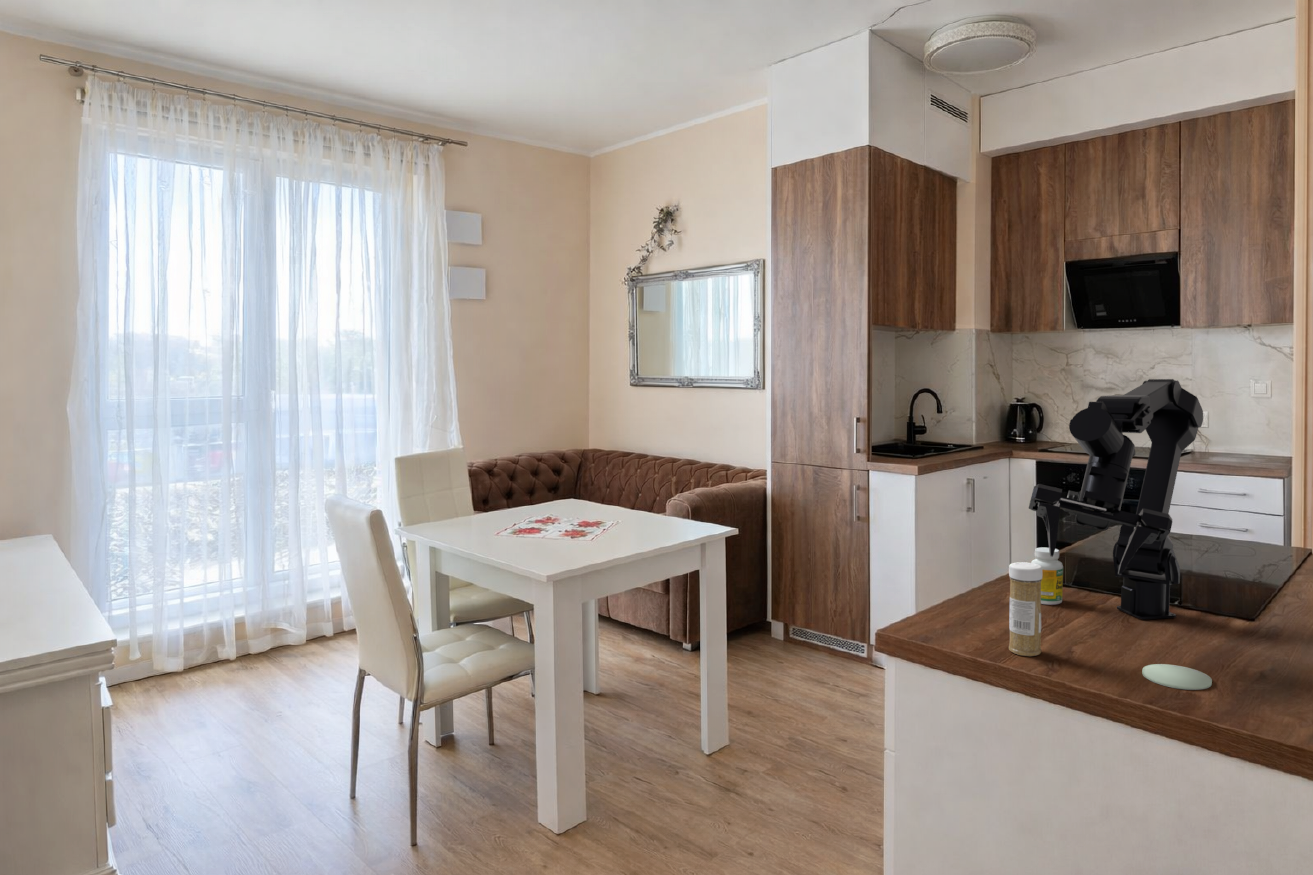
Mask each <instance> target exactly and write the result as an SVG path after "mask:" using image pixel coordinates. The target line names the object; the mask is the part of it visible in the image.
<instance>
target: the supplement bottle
mask: <svg viewBox="0 0 1313 875" xmlns="http://www.w3.org/2000/svg"><path fill="white" fill-rule="evenodd" d="M1034 549H1035V550H1034V557H1035V558H1034V559H1032V560H1031V562H1030V563H1034V564H1038V565H1040V566H1041V567H1042V579H1041V580H1042V581H1041V605H1047V606H1048V605H1051V606H1053V605H1054V606H1055V605H1059V604H1062V602H1063V595H1064V594H1063V593H1064V592H1063V590H1064V588H1063V582H1064V566H1063V562H1061V561H1060V560H1058V559H1059V558H1060V549H1058V548H1055V551H1054V555H1053V557H1051V556H1050V552H1049V547H1042V546H1041V547H1036V548H1034Z"/></svg>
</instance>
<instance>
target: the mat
mask: <svg viewBox="0 0 1313 875" xmlns="http://www.w3.org/2000/svg"><path fill="white" fill-rule="evenodd" d="M1141 673H1142V676H1143V677H1144V678H1145V679H1147V680H1149V681H1150V682H1152V683H1154V684H1158V685H1160V686H1164V687H1167V688H1168V687H1169V688H1172V689H1178V690H1186V691H1187V690H1188V691H1200V690H1206V689H1209V688H1210V687H1211V686H1213V685H1212V684H1213V683H1212V682H1213V679H1212V677H1211V676H1209V675H1208V674H1206V673H1205V672H1203V671H1200V670H1197V669H1194V668H1190V667H1187V666H1181V665H1175V664H1168V663H1157V664H1156V663H1155V664H1148V665H1145V666H1143V668H1142V672H1141Z"/></svg>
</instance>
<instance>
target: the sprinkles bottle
mask: <svg viewBox="0 0 1313 875" xmlns="http://www.w3.org/2000/svg"><path fill="white" fill-rule="evenodd" d="M1008 576H1009V582H1010V583H1009V617H1008V618H1009V620H1008V621H1009V623H1008V624H1009V644H1008V650H1009V651H1010V652H1012V653H1013V654H1015V655H1017V656H1023V657H1036V656H1039V655H1041V653H1042V649H1041V639H1042V637H1041V635H1042V610H1041V609H1042V608H1041V606H1042V604H1041V581H1042V580H1041V579H1042V567H1041V566H1040V565H1038V564H1034V563H1031V562H1026V561H1025V562H1024V561H1023V562H1022V561H1019V562H1011V563H1010V564H1009V567H1008Z"/></svg>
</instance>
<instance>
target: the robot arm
mask: <svg viewBox="0 0 1313 875" xmlns="http://www.w3.org/2000/svg"><path fill="white" fill-rule="evenodd" d="M1087 405H1088V406H1087V407H1086V408H1083V409H1081V410H1080V411H1078V412H1077V413H1076V414H1075V415H1073V417H1072V418H1071V419H1070V421H1069V425H1068V429H1069V433H1070V434H1071V435H1072V437H1073V438H1074V439H1075V440H1076V442H1077V443H1078V445H1079V446H1080V447H1081V449H1082V450H1083V451H1084V452H1085V453H1086V454H1088V455H1089V457H1088V461H1087V464H1086V468H1085V473H1084V478H1083V481H1082V486H1081V490H1080V491H1074V490H1068V493H1067V496H1062V493H1063V488H1058V487H1055V486H1050V485H1045V484H1042V483H1038V484H1036V485H1034V486H1033V490H1032V494H1031V496H1030V501H1029V506H1028V509H1029V510H1031V511H1033V512H1036V513H1035V514H1036V515H1035V516H1037V517H1039V518H1042V520H1043V522H1044V525H1045V527H1046V528H1045V529H1046V531H1047V541H1048V548H1049V552H1050V556H1051V557H1053V555H1054V551H1055V549H1056V546H1057V540H1058V532H1059V523H1060V521H1059V520H1060V513H1061V510H1063V511H1064V512H1065V513H1068V514H1069V515H1072V516H1075V518H1074V522H1075V524H1077V525H1078V526H1082V527H1084V526H1086V527H1090V528H1094V529H1096V530H1098V531H1108V529H1109V528H1110V524H1111V522H1112V523H1117V524H1121V526H1120V530H1119V535H1118V539H1117V541H1116V542H1115V544H1114V546H1113V549H1112V560H1113V566H1114V567H1113V568H1114V575H1115V577H1118V578H1123V584H1122V586H1121V588H1120V605H1117V606H1116V609H1117V610H1118V611H1121V612H1124V613H1125V614H1128V615H1129V616H1131V617H1132V616H1133V617H1134V618H1137V619H1139V620H1154V619H1155V620H1157V619H1174V618H1175V619H1176V618H1177V614H1176V613H1173V612H1171V611H1170V599H1171V598H1170V592H1171V590H1170V589H1171V585H1179V584H1180V581H1181V580H1180V579H1181V567H1180V564H1179V562H1178V559H1177V556H1176V553H1175V551H1174V543H1173V541H1172V539H1171V536H1170V535H1169V534H1170V533H1171V531H1172V525H1173V518H1172V517H1171V515H1170V514H1169V513H1170V510H1171V509H1170V508H1171V504H1172V499H1173V493H1174V490H1175V489H1174V488H1175V484H1176V481H1177V480H1176V479H1177V476H1178V472H1179V471H1178V469H1179V465H1180V461H1181V456H1182V452H1183V451H1184V450H1185V449H1186V448H1188V447H1189V446H1190V445H1191V444H1193V442H1194V441H1195V440H1196V438H1197V435H1198V432H1199V431H1198V430H1199V428H1201V427H1202V425H1203V423H1204V410H1203V408H1202V406H1201V403H1200V400H1199V399H1198V397H1197V395H1196V396H1195V395H1194V394H1193V393H1191V392H1189V391H1188V390H1186V389H1185V388H1183V387H1182V384H1181V383H1180V381H1179V380H1175V379H1174V378H1158V379H1157V378H1149V379H1148V380H1144V381H1143V382H1142V384H1140V385H1139V386H1137V387H1135V388H1134V389H1131V390H1130V391H1128V392H1126V393H1124V394H1117V395H1116V394H1115V395H1101V396H1099V397H1098V398H1097V399H1096V401H1089V402H1088V404H1087ZM1144 431H1145V432H1146V434H1147V435H1148V438H1149V439H1150V442H1151V445H1150V449H1149V453H1148V454H1149V455H1148V458H1147V463H1146V468H1145V472H1144V476H1143V482H1142V484H1141V490H1140V493H1139V494H1140V495H1139V499H1138V504H1137V508H1136V512H1135V513H1134V512H1133V513H1132V512H1128V511H1125V510H1121V509H1122V508H1121V507H1122V504H1123V499H1124V495H1125V491H1126V486H1127V482H1128V478H1129V475H1130V470H1131V466H1132V465H1131V464H1132V460H1133V457H1135V456H1136V445H1135V444H1134V442H1133V440H1131V438H1130V437H1129V436H1128V435H1126V434H1143V432H1144ZM1123 433H1124V434H1123Z"/></svg>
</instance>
